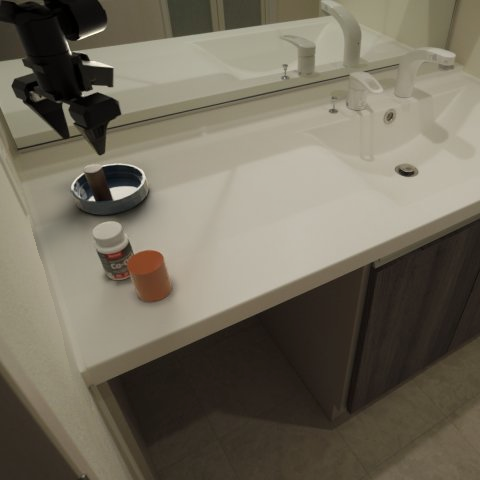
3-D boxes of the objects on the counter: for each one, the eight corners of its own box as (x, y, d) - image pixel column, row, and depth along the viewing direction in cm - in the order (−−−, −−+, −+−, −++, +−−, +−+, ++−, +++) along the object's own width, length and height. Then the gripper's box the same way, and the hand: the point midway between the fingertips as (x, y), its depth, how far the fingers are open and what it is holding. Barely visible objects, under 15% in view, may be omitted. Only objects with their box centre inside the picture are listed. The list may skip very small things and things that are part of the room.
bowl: (61, 210, 76) (54, 196, 74) (102, 172, 86) (97, 159, 84) (126, 222, 75) (121, 208, 73) (161, 182, 85) (157, 168, 82)
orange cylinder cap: (131, 298, 62) (119, 271, 58) (147, 274, 66) (138, 247, 62) (162, 304, 61) (153, 277, 57) (177, 280, 65) (169, 252, 61)
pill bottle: (118, 285, 64) (101, 245, 58) (100, 271, 66) (82, 231, 60) (144, 268, 67) (130, 228, 61) (127, 255, 69) (112, 215, 63)
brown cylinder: (92, 203, 77) (79, 171, 73) (101, 194, 80) (89, 162, 75) (107, 206, 77) (95, 174, 72) (116, 196, 79) (105, 165, 75)
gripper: (136, 49, 62) (159, 143, 73) (58, 25, 69) (89, 114, 79) (69, 71, 55) (105, 171, 65) (-11, 42, 62) (33, 137, 72)
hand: (83, 146), depth 71 cm, fingers open, 9 cm apart
